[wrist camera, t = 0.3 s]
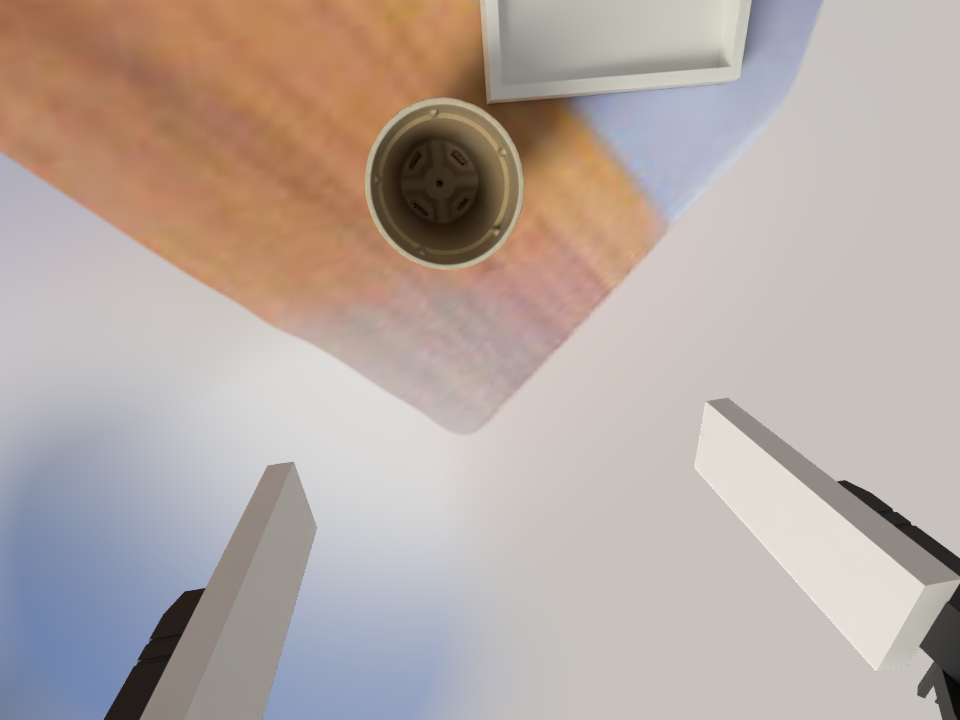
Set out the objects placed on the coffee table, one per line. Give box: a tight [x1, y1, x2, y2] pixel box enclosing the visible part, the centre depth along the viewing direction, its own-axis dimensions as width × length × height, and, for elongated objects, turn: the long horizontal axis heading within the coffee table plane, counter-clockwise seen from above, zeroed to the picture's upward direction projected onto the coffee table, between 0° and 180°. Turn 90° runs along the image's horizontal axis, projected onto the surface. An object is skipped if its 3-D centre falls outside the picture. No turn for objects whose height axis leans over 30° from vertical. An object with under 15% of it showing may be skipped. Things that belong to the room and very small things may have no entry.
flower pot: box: [365, 97, 524, 270], centre depth 29 cm, size 9×9×9 cm
